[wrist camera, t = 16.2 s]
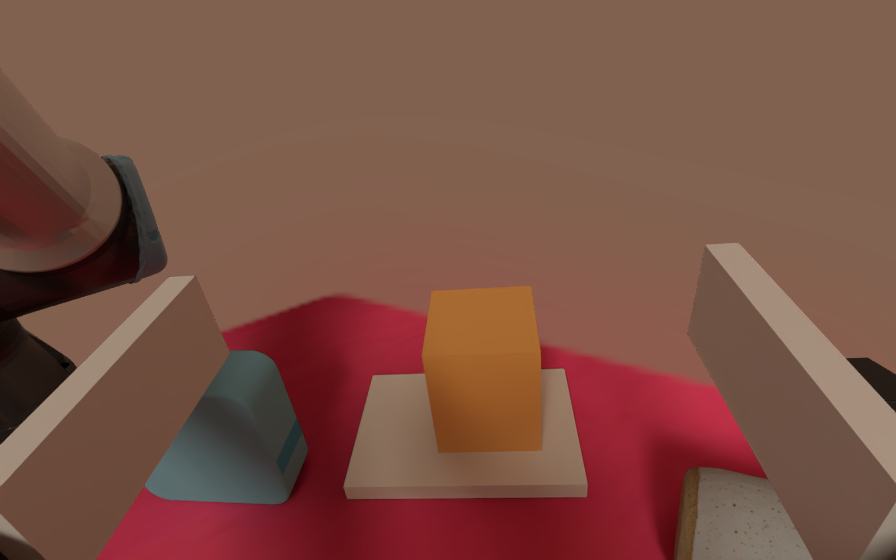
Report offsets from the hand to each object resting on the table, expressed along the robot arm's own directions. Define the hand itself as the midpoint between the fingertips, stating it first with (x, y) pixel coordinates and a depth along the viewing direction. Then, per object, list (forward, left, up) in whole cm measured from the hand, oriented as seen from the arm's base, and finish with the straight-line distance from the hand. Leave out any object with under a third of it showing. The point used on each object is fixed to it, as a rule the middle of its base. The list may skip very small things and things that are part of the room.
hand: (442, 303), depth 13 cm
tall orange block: (0, +19, -25) cm, 31 cm away
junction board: (-2, +18, -26) cm, 31 cm away
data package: (-21, +14, -26) cm, 36 cm away
